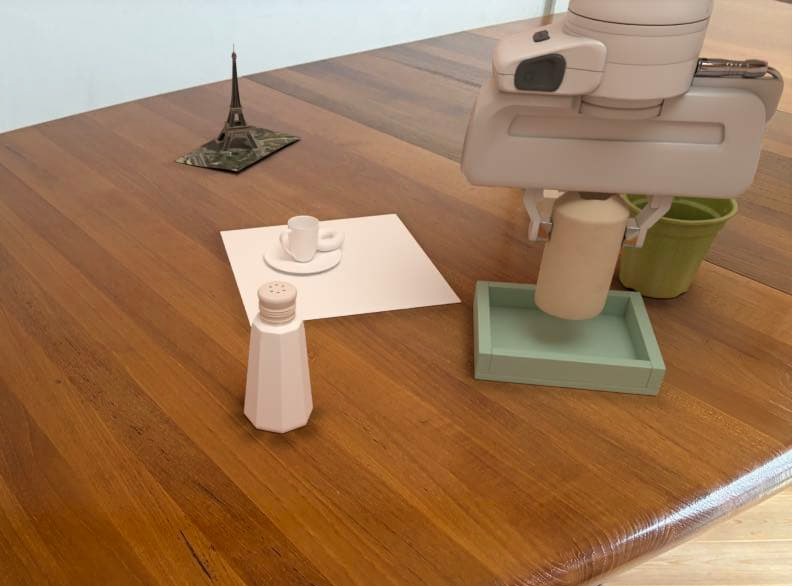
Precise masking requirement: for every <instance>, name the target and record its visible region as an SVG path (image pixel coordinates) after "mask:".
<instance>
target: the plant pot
mask: <svg viewBox="0 0 792 586" xmlns="http://www.w3.org/2000/svg"><path fill="white" fill-rule="evenodd" d="M622 198H623V200H624V201H625V203H626V204H627V205H628V207H629V209H630V214H629V218H635V217H636V216H637V215H638V214H639V213H640V212H641V210H642V209H643V208H644V207H645V206H646V205H647V204H648V203H649V202H648V199H647V197H646V195H640V194H622ZM738 205H739V204H738V202H737V201H736V198H735V199H716V198H697V197H678V196H674V197H673V200H672V203H671V207H670V210H668V211H667V212H666V213H665V214H664V215H663V216H662V217H661V218H660V219H659V220H658V221H657V222H656V223H655V224H654V225H653V226H652V227H651V228H649V229H647V232H646V236H645V239H644V243H643V246H642V248H633V247H622V253H621V261H620V270H619V281H620V283H621V284H622V285H623V286H624V287H625V288H627V289H633V290H634V291H635V292H640V293H641V296H644V297H647V298H653V299H673V298H677V297H678V296H679V295H681V294H683V293H686V292H687V291H688V290H689V289H690V287H691V284H692V283H693V281H694V278H695V277H696V275H697V273H698V271H699V269H700V268H701V264H702V263H703V261H704V260H705V257H706V256H707V254H708V252H709V250H710V248H711V246H712V244H713V243H714V240H715V239H716V237H717V235H718V233H719V232H720V231H721V230H722V229H723V228H724V227H725V225H726V224H727V222H728V221H729V220H731V219H732V218H733V217H735V215H736V214H737V212H738V210H739V206H738Z"/></svg>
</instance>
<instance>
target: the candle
mask: <svg viewBox="0 0 792 586" xmlns="http://www.w3.org/2000/svg"><path fill="white" fill-rule="evenodd" d="M629 214H630V209H629V207H628V205H627V204H626V203H625V201H624V200H623V199H622V197H621V196H620V194H619V193H602V192H583V191H566V192H565V193H564V194H562V195H561V196H559V197H558V198H557V199H556V200H555V201H554V205H553V209H552V214H551V220H552V223H553V224H552V228H551V231H550V232H549V234H550V238H549V241H548V242H544V248H543V252H542V257H541V261H540V266H539V271H538V277H537V280H536V284H535V285H536V291H535V303H536V305H537V306H538V307H539V308H540V309H541V310H543V311H544V312H546V313H548V314H550V315H553V316H556V317H559V318H563V319H570V320H584V319H590V318H593V317H596V316H597V315H599V314H600V313H601V312H602V310H603V308H604V305H605V302H606V299H607V295H608V291H609V290H610V288H611V283H612V279H613V276H614V272H615V269H616V265H617V262H618V259H619V256H620V255H619V254H620V251H621V248H622V247H621V244H622V240H623V236H624V233H625V229H626V225H627V222H628V218H629Z"/></svg>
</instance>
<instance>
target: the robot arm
mask: <svg viewBox="0 0 792 586" xmlns="http://www.w3.org/2000/svg"><path fill="white" fill-rule="evenodd" d="M714 1H715V0H568V5H567V11H566V15H565V19H562V20H559V21H555V22H552V23H549V24H544V25H542V26H538V27H535V28H532V29H529V30H525V31H522V32H518V33H514V34H510V35H507V36H505V37H503V38H501V39H499V41H498V42H497V43H496V45H495V48H494V51H493V54H492V61H491V72H492V76H490V77H489V78H487V80H485V82H483V84H482V85H481V87H480V88H479V90H478V92H477V94H476V96H475V99H474V102H473V105H472V109H471V111H470V115H469V118H468V122H467V126H466V130H465V136H464V140H463V145H462V151H461V157H460V158H461V159H460V173H461V176H462V177H463V178H464V180H465V181H466V183H467V185H469V186H472V187H473V186H474V187H487V188H488V187H489V188H509V189H510V188H511V189H520V192H521V193H520V194H521V200H522V203H523V205H524V208H525V210H526V213H527V215H528V217H529V224H528V231H527V237H528V241H529V242H539V243H540V242H541V243H542V242H543V243H546V242H548V241H549V238H550V234H549V232H550V231H551V228H552V224H553V223H552V220H551V214H548V213H540V211H539V208H538V206H537V203H536V202H540V201H542V196H543V191H544V189H545V190H564V191H583V192H602V193H621V194H640V195H646V197H647V199H648V202H649V203H648V204H647V205H646V206H645V207H644V208H643V209H642V210H641V212H640V213H639V214H638V215H637V216H636V217H635V218H628V222H627V225H626V229H625V233H624V236H623V240H622V244H621V247H620V248H623V247H633V248H642V246H643V243H644V239H645V236H646V232H647V229H649V228H651V227H652V226H653V225H654V224H655V223H656V222H657V221H658V220H659V219H660V218H661V217H662V216H663V215H664V214H665V213H666V212H667V211H668V210H670V207H671V203H672V200H673V197H674V196H678V197H697V198H716V199H735V200H736V199H737V198H738V197H740V196H741V195H743V194H744V193H745V192H747V190H749V189H750V188H751V186H752V185H753V182H754V180H755V176H756V173H757V170H758V166H759V161H760V158H761V153H762V149H763V148H762V147H763V143H764V137H765V129H766V124H767V123H768V122H769V121H770V120H771V119H772V118H773V117H774V115H775V113H776V111H777V110H778V106H779V103H780V100H781V99H782V98H781V97H782V95H783V92H784V88H785V87H784V86H785V83H784V82H785V81H784V78H783V75H782V74H781V72H780V71H779V70H778V69H776V68H774V67H772V66H769V62H768V61H767V60H764V59H758V58H749V59H748V58H747V59H745V60H736V59H728V58H721V57H720V58H719V57H718V58H717V57H700V55H701V52H702V49H703V45H704V41H705V38H706V35H707V32H708V29H709V28H708V27H709V24H710V21H711V17H712V13H713V9H714ZM774 1H775V2H779V3H784V4H788V5H792V0H773V2H774ZM766 74H769V75H770V76H767V75H766Z"/></svg>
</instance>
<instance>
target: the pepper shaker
mask: <svg viewBox="0 0 792 586" xmlns="http://www.w3.org/2000/svg"><path fill="white" fill-rule="evenodd" d="M257 295H258V298H259V310H260V312H258V313H257V315H256V317H255V318H254V320H253V322H252V326H250V327H251V328H250V335H249V336H250V337H249V347H248V349H249V351H248V359H247V372H246V383H245V395H244V405H243V414H244V415H245V417H246V418H247V419H248V420H249V421H250V423H251V424H252V425H253V426H254V428H255V429H256V430H261V431H267V432H271V433H272V432H273V433H276V434H284V433H287V432H291V431H294V430H296V429H299V428H302V427H304V426H306V425H307V423H308V421H309V419H310V416H311V414H312V412H313V410H314V405H313V397H312V396H313V395H312V388H311V376H310V367H309V357H308V348H307V339H306V330H305V329H306V328H305V323H304V320H303V319H302V318H301V317H300V316H299V315H298V314H297V313H296V311H295V310H296V297H297V289H296V288H295V287H294V286H293V285H292V284H290V283H287V282H283V281H272V282H268V283H265V284H263V285H262V286H261V287H260V288H259V289H258V291H257Z"/></svg>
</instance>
